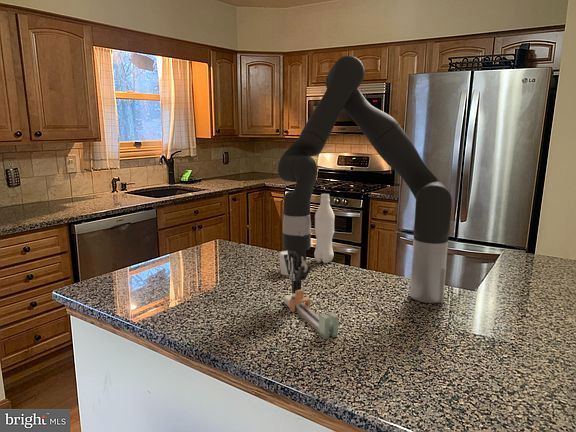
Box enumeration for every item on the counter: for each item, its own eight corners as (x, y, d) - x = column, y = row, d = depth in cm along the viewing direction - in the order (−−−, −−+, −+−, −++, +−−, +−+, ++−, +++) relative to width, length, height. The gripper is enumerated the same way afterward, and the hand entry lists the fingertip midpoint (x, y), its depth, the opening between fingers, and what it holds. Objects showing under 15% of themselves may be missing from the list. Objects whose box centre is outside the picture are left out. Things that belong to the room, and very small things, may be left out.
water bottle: (311, 262, 155) (312, 195, 151) (317, 257, 162) (318, 192, 157) (330, 265, 153) (332, 196, 148) (335, 259, 159) (337, 193, 154)
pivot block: (283, 302, 119) (283, 294, 119) (298, 300, 121) (298, 292, 120) (289, 308, 115) (289, 299, 115) (304, 305, 117) (304, 297, 117)
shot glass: (297, 276, 141) (297, 256, 139) (276, 275, 142) (276, 255, 141) (300, 270, 147) (300, 250, 146) (281, 268, 148) (281, 249, 147)
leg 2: (299, 306, 116) (299, 289, 115) (304, 306, 117) (304, 288, 116) (332, 337, 99) (333, 317, 98) (337, 336, 99) (338, 316, 98)
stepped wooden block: (289, 309, 115) (289, 291, 114) (307, 306, 117) (307, 288, 116) (292, 312, 113) (292, 293, 112) (310, 309, 115) (310, 290, 114)
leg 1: (291, 308, 115) (291, 290, 114) (295, 307, 116) (295, 290, 115) (324, 339, 98) (325, 318, 97) (329, 338, 99) (330, 317, 98)
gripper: (274, 226, 118) (274, 286, 121) (293, 237, 106) (293, 303, 109) (299, 224, 120) (299, 283, 124) (320, 235, 109) (319, 299, 112)
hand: (296, 292), depth 116 cm, fingers closed
